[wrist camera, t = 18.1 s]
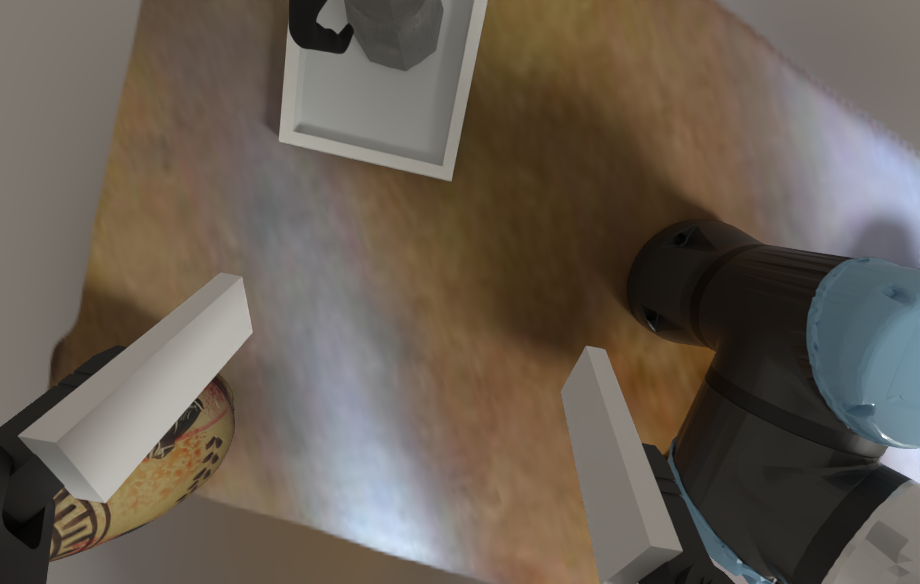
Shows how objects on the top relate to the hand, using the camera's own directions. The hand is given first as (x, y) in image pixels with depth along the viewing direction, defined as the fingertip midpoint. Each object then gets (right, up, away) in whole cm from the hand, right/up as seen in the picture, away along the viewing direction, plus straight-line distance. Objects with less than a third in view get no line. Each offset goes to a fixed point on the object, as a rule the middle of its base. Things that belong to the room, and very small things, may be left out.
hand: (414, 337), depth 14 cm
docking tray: (-5, +28, +21) cm, 35 cm away
